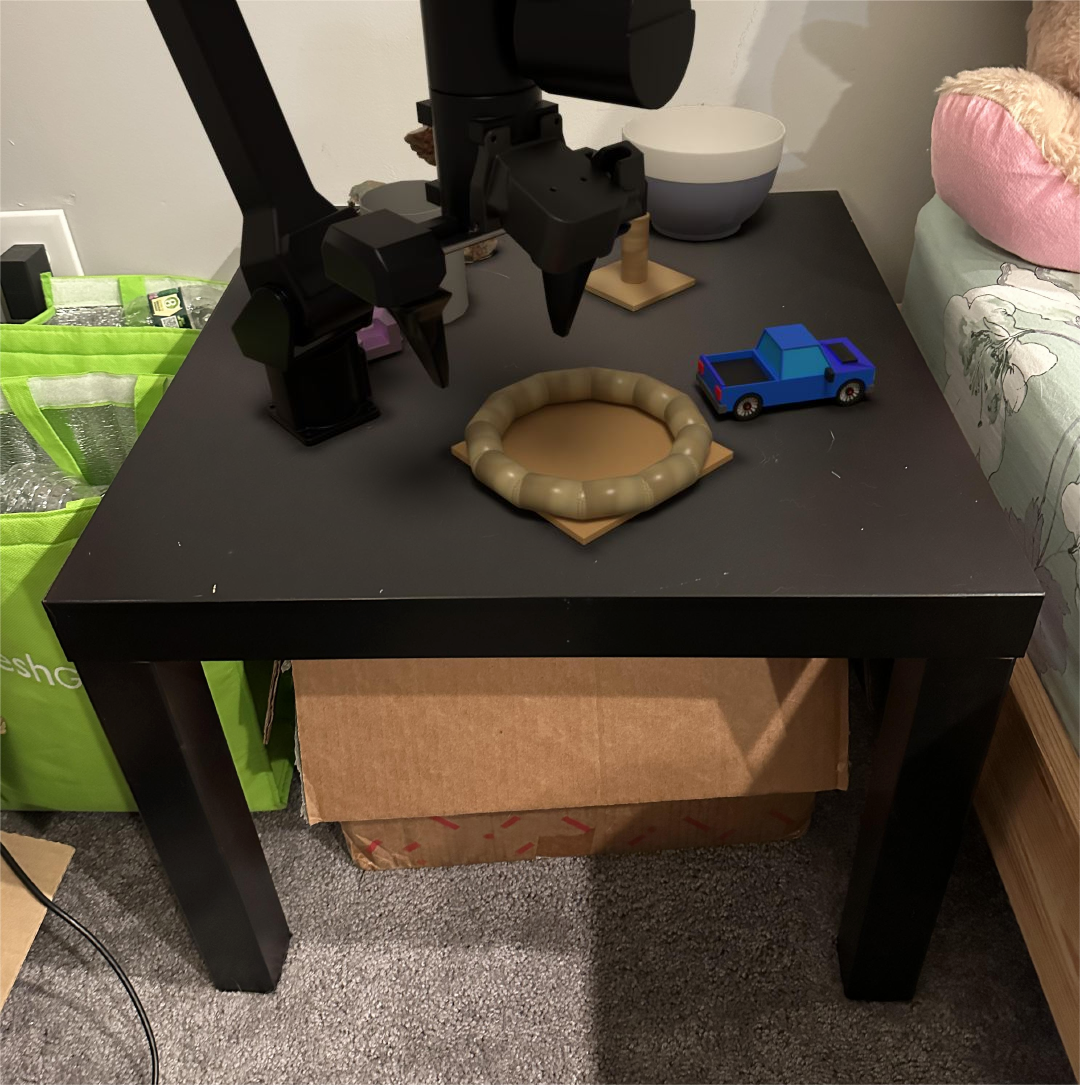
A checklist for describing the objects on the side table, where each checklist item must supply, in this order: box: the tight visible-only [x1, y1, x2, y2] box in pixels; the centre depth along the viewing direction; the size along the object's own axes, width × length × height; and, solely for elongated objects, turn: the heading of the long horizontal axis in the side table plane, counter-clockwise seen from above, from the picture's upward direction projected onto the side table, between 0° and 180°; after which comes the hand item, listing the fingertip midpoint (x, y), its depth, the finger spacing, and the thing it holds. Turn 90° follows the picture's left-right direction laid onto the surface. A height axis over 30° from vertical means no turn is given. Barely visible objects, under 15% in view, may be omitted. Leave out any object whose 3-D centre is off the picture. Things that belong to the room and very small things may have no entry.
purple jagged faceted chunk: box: [356, 306, 404, 362], centre depth 79 cm, size 8×7×6 cm
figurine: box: [403, 124, 499, 264], centre depth 90 cm, size 7×6×15 cm
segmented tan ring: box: [464, 366, 714, 520], centre depth 66 cm, size 17×17×2 cm
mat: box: [450, 399, 734, 546], centre depth 67 cm, size 14×14×1 cm
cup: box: [358, 179, 469, 325], centre depth 83 cm, size 8×8×10 cm
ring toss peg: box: [584, 212, 696, 312], centre depth 86 cm, size 8×8×7 cm
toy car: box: [695, 323, 877, 421], centre depth 71 cm, size 7×12×5 cm, turn 101°
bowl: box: [621, 104, 787, 242], centre depth 96 cm, size 16×16×10 cm
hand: (503, 359), depth 58 cm, fingers open, 9 cm apart
